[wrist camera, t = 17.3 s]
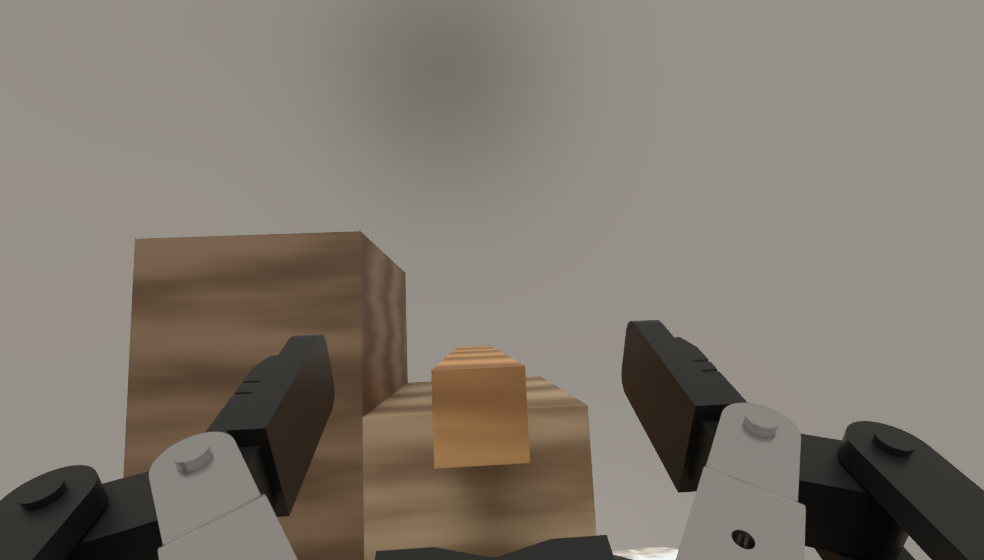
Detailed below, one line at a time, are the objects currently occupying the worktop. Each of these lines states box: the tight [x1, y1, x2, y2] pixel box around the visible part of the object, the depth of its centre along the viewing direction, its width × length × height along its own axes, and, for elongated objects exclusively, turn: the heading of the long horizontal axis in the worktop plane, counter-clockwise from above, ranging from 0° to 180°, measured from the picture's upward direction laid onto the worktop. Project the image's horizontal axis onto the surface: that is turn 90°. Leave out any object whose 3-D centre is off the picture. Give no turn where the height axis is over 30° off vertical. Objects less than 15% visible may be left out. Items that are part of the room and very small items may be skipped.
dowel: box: [431, 346, 530, 469], centre depth 27 cm, size 26×3×3 cm, turn 3°
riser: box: [124, 232, 596, 560], centre depth 32 cm, size 17×24×32 cm
